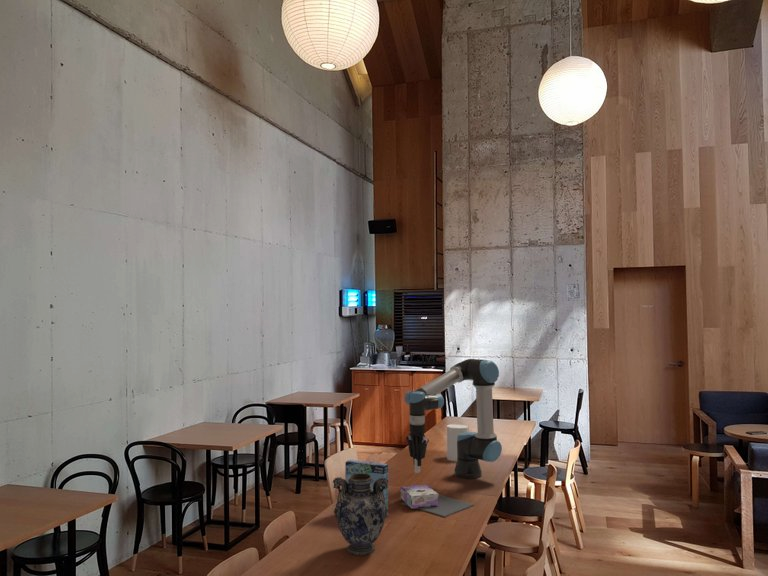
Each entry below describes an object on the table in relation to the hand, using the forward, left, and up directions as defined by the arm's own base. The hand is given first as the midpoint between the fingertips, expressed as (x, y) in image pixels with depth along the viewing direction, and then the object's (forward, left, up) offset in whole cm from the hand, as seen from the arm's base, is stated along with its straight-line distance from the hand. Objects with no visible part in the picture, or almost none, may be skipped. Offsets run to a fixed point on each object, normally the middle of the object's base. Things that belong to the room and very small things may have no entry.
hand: (417, 472), depth 289 cm
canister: (-75, -33, -13) cm, 83 cm away
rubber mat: (+1, +13, -12) cm, 18 cm away
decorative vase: (+62, +25, -13) cm, 68 cm away
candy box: (+1, -1, -9) cm, 9 cm away
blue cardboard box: (+33, -2, -13) cm, 35 cm away
